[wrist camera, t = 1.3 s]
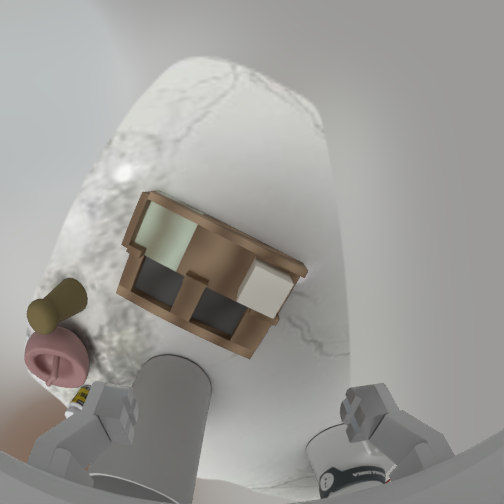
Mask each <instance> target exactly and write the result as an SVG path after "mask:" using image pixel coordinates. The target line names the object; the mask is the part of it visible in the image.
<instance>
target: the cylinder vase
mask: <svg viewBox="0 0 504 504" xmlns="http://www.w3.org/2000/svg"><path fill="white" fill-rule="evenodd" d="M132 388H133V390H134V397H133V398H134V399H135V400H137V403H138V409H139V412H138V420H137V423H136V424H135V425H133V428H134V431H135V433H134V438H133V442H132V445H127V444H121V443H115V442H111V444H110V445H109V446H108V447H107V448H106V449H105V450H104V451H103V452H102V453H101V454H100V455H99V456H98V457H97V458H96V459H95V460H93V461H92V462H91V464H90V466H89V468H88V470H87V473H88V474H89V475H90V476H91V477H92V479H93V480H94V483H93V487H92V488H95V489H99V490H103V491H107V492H111V493H115V494H119V495H124V496H129V497H134V498H139V499H145V500H151V501H157V502H165V503H173V504H192V500H193V493H194V487H195V482H196V476H197V470H198V465H199V459H200V453H201V447H202V442H203V436H204V431H205V425H206V420H207V414H208V409H209V403H210V398H211V384H210V381H209V379H208V377H207V376H206V374H205V373H204V372H203V371H202V370H201V369H200V368H199V367H198V366H197V365H195V364H194V363H192V362H190V361H189V360H186V359H184V358H181V357H177V356H170V355H164V356H158V357H155V358H152V359H151V360H149V361H148V362H146V363H145V364H144V366H143V367H142V369H141V371H140V372H139V374H138V376H137V378H136V380H135V381H134V383H133V385H132Z"/></svg>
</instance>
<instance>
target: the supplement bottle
mask: <svg viewBox="0 0 504 504" xmlns="http://www.w3.org/2000/svg"><path fill="white" fill-rule="evenodd" d="M90 388H91V386H83V387H82V388H81V389H80V390H79V392H78V393H77V394H76V396H75V397H74V398H73V399H72V401H71V402H70V403H69V406H68V407H69V408H68V409H67V411H66V412H65V416H66V418H68V417H70V416H71V415H73V414H74V413H76V412H77V411H80V412H81V410H82V408H83V405H84V403H85V400H86V398H87V396H88V393H89V391H90Z"/></svg>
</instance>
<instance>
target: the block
mask: <svg viewBox="0 0 504 504" xmlns="http://www.w3.org/2000/svg"><path fill="white" fill-rule="evenodd" d="M293 285H294V284H293V281H292V279H291V276H290V274H289V273H287V272H285V271H283V270H281V269H279V268H277V267H275V266H273V265H271V264H269V263H267V262H265V261H263V260H261V259H259V258H257V257H255V259H254V260H253V262H252V264H251V266H250V268H249V270H248V272H247V274H246V275H245V277H244V279H243V281H242V283H241V285H240V287H239V288H238V294H237V302H238V303H240V304H242V305H244V306H247V307H249V308H251V309H253V310H255V311H257V312H259V313H262V314H264V315H266V316H268V317H270V318H272V319H274V317H275V316H276V314H277V312H278V311H279V309H280V307H281V306H282V304H283V302H284V300H285V299H286V297H287V295H288V294H289V292H290V290H291V289H292V287H293Z"/></svg>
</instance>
